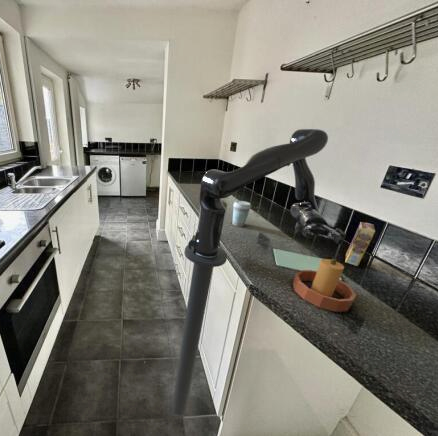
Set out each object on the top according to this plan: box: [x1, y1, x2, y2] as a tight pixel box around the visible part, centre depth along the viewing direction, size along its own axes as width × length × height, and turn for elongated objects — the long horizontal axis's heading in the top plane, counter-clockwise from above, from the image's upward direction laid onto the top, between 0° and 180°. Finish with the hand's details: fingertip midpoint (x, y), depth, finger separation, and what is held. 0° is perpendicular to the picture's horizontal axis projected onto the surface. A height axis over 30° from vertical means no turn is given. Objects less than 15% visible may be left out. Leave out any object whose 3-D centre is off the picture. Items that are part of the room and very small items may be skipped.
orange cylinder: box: [310, 258, 345, 298], centre depth 69 cm, size 5×5×12 cm
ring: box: [292, 270, 357, 313], centre depth 71 cm, size 15×15×4 cm
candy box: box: [344, 221, 376, 267], centre depth 90 cm, size 9×4×15 cm, turn 140°
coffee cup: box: [231, 200, 252, 227], centre depth 120 cm, size 8×8×12 cm
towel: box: [272, 248, 343, 281], centre depth 88 cm, size 20×14×1 cm
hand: (324, 239), depth 77 cm, fingers open, 8 cm apart
